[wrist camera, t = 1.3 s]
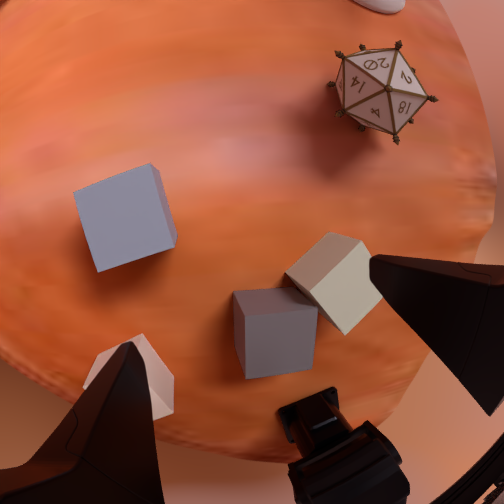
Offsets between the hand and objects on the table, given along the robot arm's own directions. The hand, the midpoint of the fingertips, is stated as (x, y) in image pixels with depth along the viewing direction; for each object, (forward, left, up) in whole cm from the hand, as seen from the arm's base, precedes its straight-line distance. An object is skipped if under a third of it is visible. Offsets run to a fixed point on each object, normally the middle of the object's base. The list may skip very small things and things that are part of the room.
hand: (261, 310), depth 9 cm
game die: (+9, -15, -13) cm, 21 cm away
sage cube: (-5, -8, -13) cm, 15 cm away
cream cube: (-8, +10, -13) cm, 18 cm away
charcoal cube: (-7, -2, -13) cm, 14 cm away
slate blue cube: (+4, +5, -13) cm, 14 cm away
